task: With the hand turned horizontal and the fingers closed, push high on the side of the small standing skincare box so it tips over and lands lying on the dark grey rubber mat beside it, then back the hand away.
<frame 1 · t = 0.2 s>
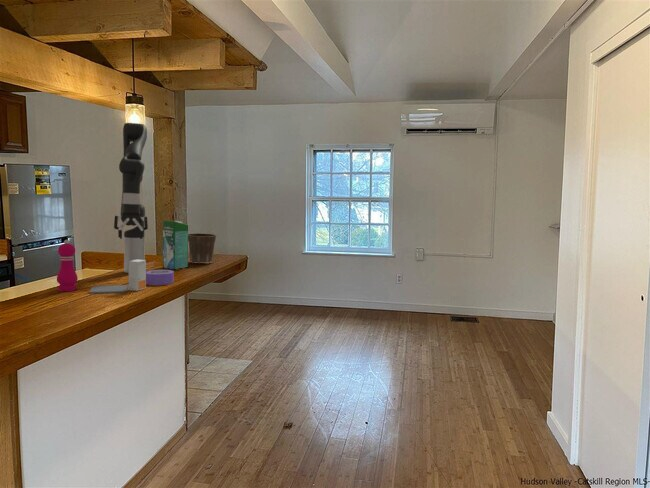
hand: (130, 238, 215), 18 cm above the table, tool pointing down, fingers open, 8 cm apart
milk carton: (175, 268, 247), on the table
tape roll: (159, 283, 207), on the table
pepper mill: (67, 290, 186), on the table
skincare box: (137, 289, 192), on the table
mat: (109, 289, 189), on the table
plant pot: (201, 263, 267), on the table
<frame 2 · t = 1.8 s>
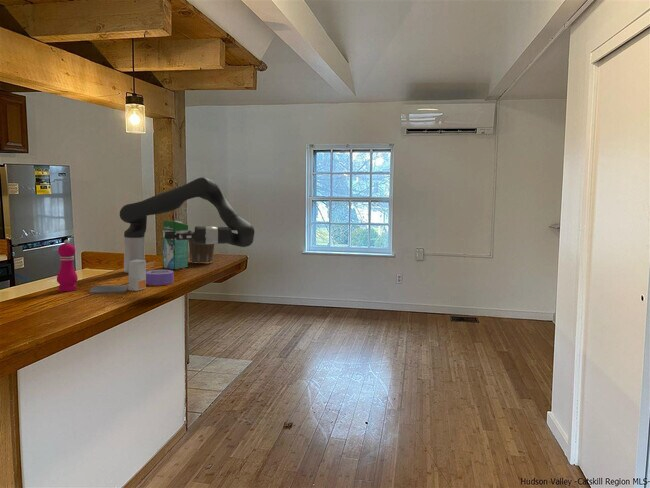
hand: (165, 235, 192), 22 cm above the table, tool horizontal, fingers open, 7 cm apart
nothing on the table moved.
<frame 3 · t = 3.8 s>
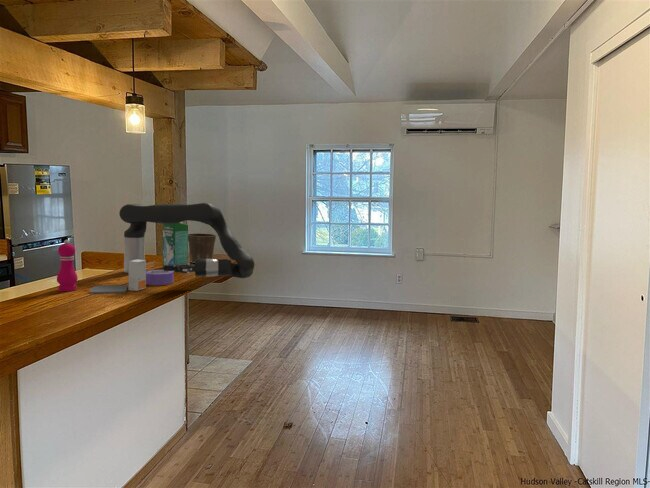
hand: (163, 268, 194), 9 cm above the table, tool horizontal, fingers closed
nothing on the table moved.
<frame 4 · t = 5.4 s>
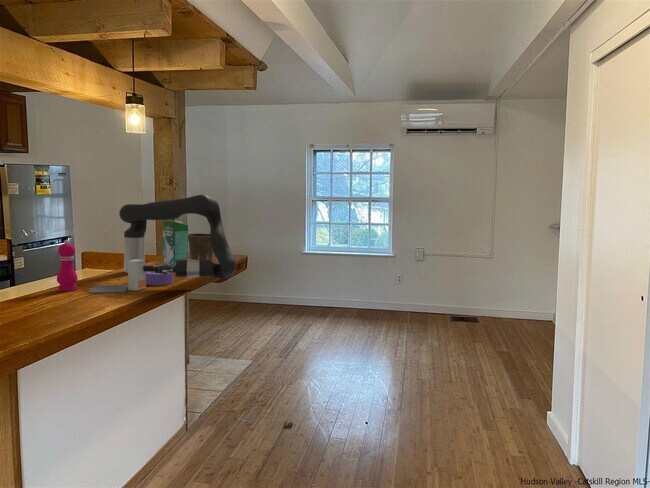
hand: (143, 268, 192), 9 cm above the table, tool horizontal, fingers closed
skincare box: (137, 289, 192), on the table, touching gripper
everything else where it was.
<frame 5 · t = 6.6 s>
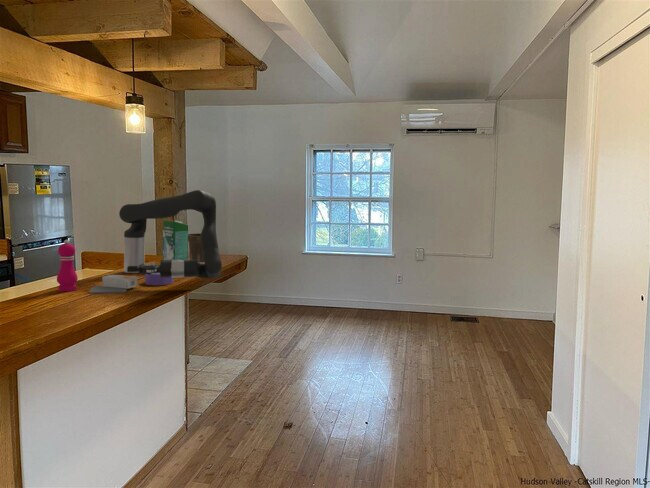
hand: (127, 268, 190), 8 cm above the table, tool horizontal, fingers closed
skincare box: (133, 282, 192), point 3 cm above the table, touching mat
everything else where it was.
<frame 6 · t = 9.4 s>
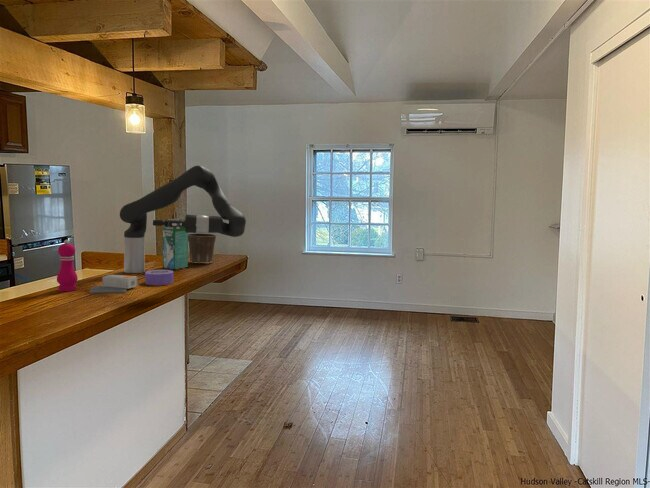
hand: (153, 222, 191), 27 cm above the table, tool horizontal, fingers closed
nothing on the table moved.
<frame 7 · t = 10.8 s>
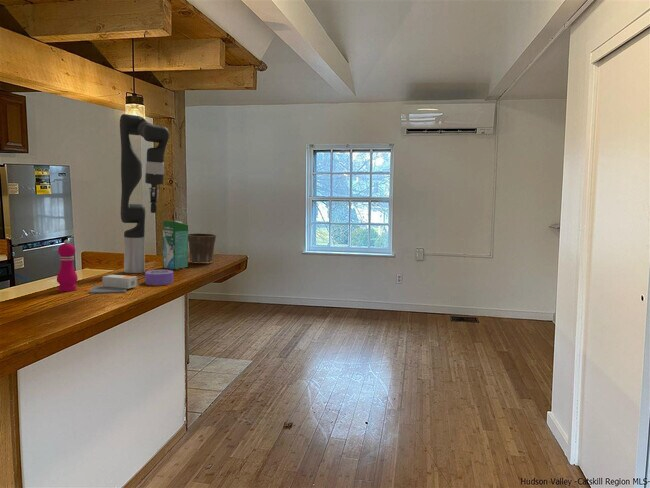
hand: (153, 212, 205), 31 cm above the table, tool pointing down, fingers closed
nothing on the table moved.
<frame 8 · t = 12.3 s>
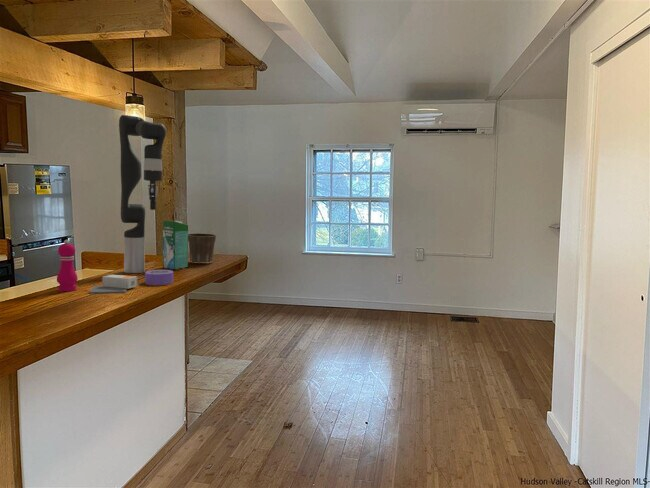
hand: (152, 209, 205), 32 cm above the table, tool pointing down, fingers closed
nothing on the table moved.
at the end: skincare box tilted 91°; skincare box inside the target area (7.5 cm from its centre), point 2.7 cm above the table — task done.
